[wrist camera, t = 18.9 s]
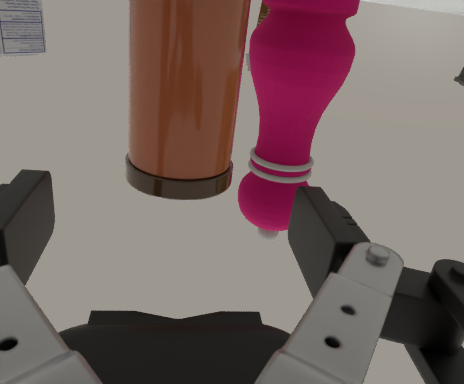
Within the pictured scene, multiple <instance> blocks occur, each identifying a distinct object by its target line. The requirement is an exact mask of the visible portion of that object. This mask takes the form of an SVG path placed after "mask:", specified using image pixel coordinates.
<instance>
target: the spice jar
mask: <svg viewBox="0 0 464 384" xmlns="http://www.w3.org/2000/svg"><path fill="white" fill-rule="evenodd" d="M250 2H251V0H129V131H128V133H129V135H128V136H129V137H128V138H129V140H128V151H129V152H128V153H127V155H126V158H125V175H126V179H127V181H128V183H129V184H130V185H131V186H132V187H134V188H135V189H137V190H138V191H141V192H143V193H145V194H148V195H151V196H155V197H158V198H164V199H170V200H200V199H205V198H210V197H213V196H217V195H219V194H221V193H223V192H224V191H226V190H227V189H228V187H229V186H230V184H231V179H232V171H233V163H232V161H231V155H232V147H233V139H234V132H235V124H236V115H237V107H238V98H239V91H240V83H241V75H242V67H243V59H244V51H245V42H246V34H247V26H248V18H249V10H250Z"/></svg>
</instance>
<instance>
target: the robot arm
mask: <svg viewBox="0 0 464 384" xmlns="http://www.w3.org/2000/svg"><path fill="white" fill-rule="evenodd" d="M54 222H55V213H54V202H53V191H52V179H51V174H50V172H49V171H41V170H24V169H23V170H21V171H20V172H19V173H18V175H17V176H16V177H15V178H14V179H13V180H12V181H11V183H10V184H1V185H0V384H363V382H364V379H365V376H366V373H367V371H368V368H369V365H370V362H371V359H372V356H373V353H374V350H375V347H376V345H377V342H378V339H379V338H382V339H386V340H390V341H394V342H397V343H402V344H404V346H405V348H406V350H407V351H408V353H409V355H410V357H411V359H412V361H413V362H414V364H415V366H416V368H417V369H418V371H419V373H420V375H421V377H422V378H423V380H424V382H425V384H464V348H463V347H462V346H461V345H462V343H463V341H464V263H462V262H459V261H455V260H449V259H443V260H438V261H437V262H435V264H434V266H433V269H432V271H431V273H429V272H424V271H420V270H415V269H410V268H407V267H403V265H404V262H403V260H402V258H401V257H400V256H399V255H398V254H397V253H396V252H395V251H393V250H392V249H390V248H388V247H385V246H383V245H380V244H377V243H371V242H370V240H369V239H368V238H367V236H366V235H365V234H364V232H363V231H362V230H361V228H360V227H359V226H357V223H356V222H355V221H354V219H352V217H351V215H350V214H349V213H348V211H347V210H346V209H345V208H343V207H342V206H340V205H339V204H338V203H336V202H335V201H330V199H329V198H328V197H327V195H326V194H325V192H324V191H323V189H322V188H321V187H312V186H298V187H297V189H296V192H295V196H294V201H293V206H292V211H291V216H290V221H289V226H288V240H289V244H290V246H291V248H292V251H293V253H294V255H295V258H296V260H297V262H298V265H299V267H300V269H301V272H302V274H303V276H304V278H305V281H306V283H307V285H308V288H309V290H310V292H311V295H312V297H313V301H312V303H311V304H310V306H309V307H308V309H307V310H306V312H305V314H304V315H303V317H302V318H301V320H300V321H299V323H298V325H297V326H296V328H295V329H294V331H293V332H292V334H289V333H287V332H285V331H283V330H280V329H278V328H275V327H272V326H268V325H264V324H262V321H261V317H260V313H259V312H225V311H220V312H215V313H210V314H204V315H199V316H193V317H188V318H183V319H173V318H168V317H162V316H158V315H153V314H148V313H142V312H138V311H91V314H90V317H89V321H88V324H83V325H79V326H76V327H72V328H69V329H66V330H64V331H61V332H59V333H57V331H56V330H55V328H54V327H53V325H52V324H51V323H50V321H49V320H48V318H47V317H46V315H45V314H44V313H43V311H42V310H41V308H40V307H39V306H38V304H37V303H36V301H35V300H34V299H33V297H32V296H31V294H30V293H29V291H28V290H27V288H26V287H25V285H26V283H27V281H28V279H29V277H30V275H31V274H32V272H33V269H34V268H35V266H36V264H37V262H38V260H39V258H40V256H41V254H42V252H43V251H44V249H45V247H46V245H47V243H48V241H49V239H50V237H51V235H52V233H53V229H54Z"/></svg>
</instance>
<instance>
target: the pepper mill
mask: <svg viewBox="0 0 464 384" xmlns="http://www.w3.org/2000/svg"><path fill="white" fill-rule="evenodd" d="M359 2H360V0H263V3H264V4H265V5H267V6H268V7H269V8H270V12H269V14H268V16H267V17H266V18H265V19H264V20H263V21H262V22H261V23H260V24H259V25H258V26H257V27H256V29H255V30H254V31H253V33H252V35H251V39H250V49H249V59H250V69H251V75H252V78H253V83H254V87H255V90H256V95H257V99H258V105H259V115H260V124H259V136H258V141H257V145H256V147H254V148H252V149H251V151H250V157H251V158H250V160H249V162H248V166H249V168H250V170H251V171H250V172H249V173H248V174H247V175H246V176H245V177H244V178H243V179H242V181H241V183H240V185H239V190H238V202H239V206H240V210H241V212H242V213H243V215H244V216H245V218H246V219H247V220H249V221H250V222H251V223H252V224H254V225H255V226H257V227H258V234H259V236H260V237H261V238H262V239H263V240H265V241H271V240H274V239H275V238H276V237H277V235H278V232H279V231H283V230H287V229H288V226H289V221H290V216H291V211H292V206H293V201H294V196H295V192H296V189H297V187H298V186H309V185H308V183H307V181H306V180H307V179H309V178H310V176H311V167H312V166H313V164H314V161H313V158H312V157H311V156H310V149H311V142H312V139H313V136H314V132H315V129H316V126H317V124H318V122H319V120H320V118H321V116H322V113H323V112H324V110H325V109H326V107H327V106H328V104H329V103H330V101H331V100H332V98H333V97H334V96H335V94H336V93H337V92H338V90H339V89H340V87H341V86H342V85H343V83H344V81H345V79H346V77H347V75H348V73H349V71H350V68H351V65H352V62H353V59H354V56H355V45H354V42H353V39H352V37H351V35H350V33H349V31H348V29H347V27H346V24H345V21H346V19H347V18H349V17H351V16H354V15H355V14H356V13H357V10H358V6H359Z"/></svg>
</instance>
